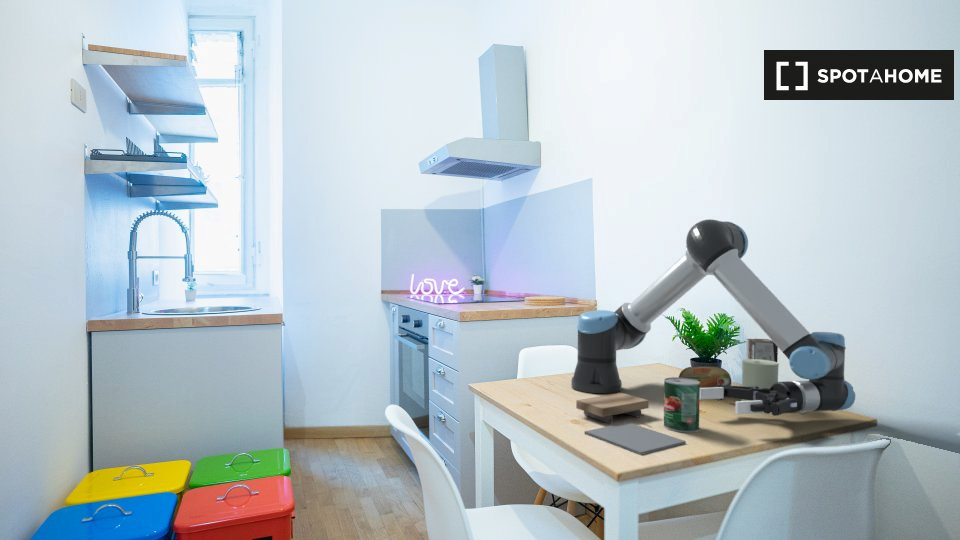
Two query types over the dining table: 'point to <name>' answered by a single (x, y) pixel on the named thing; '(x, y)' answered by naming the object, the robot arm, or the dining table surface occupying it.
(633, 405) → the wooden serving board
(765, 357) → the coffee box
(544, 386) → the dining table surface
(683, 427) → the canned tomato
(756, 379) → the pale green cup
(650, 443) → the flat gray pad
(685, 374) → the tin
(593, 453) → the dining table surface
